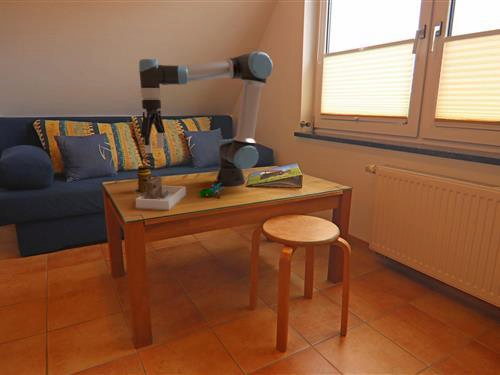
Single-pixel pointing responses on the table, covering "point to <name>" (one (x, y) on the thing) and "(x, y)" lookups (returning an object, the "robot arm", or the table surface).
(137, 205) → the shallow white tray
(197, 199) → the table surface
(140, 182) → the condiment
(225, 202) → the table surface
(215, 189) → the stick construction toy
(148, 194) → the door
